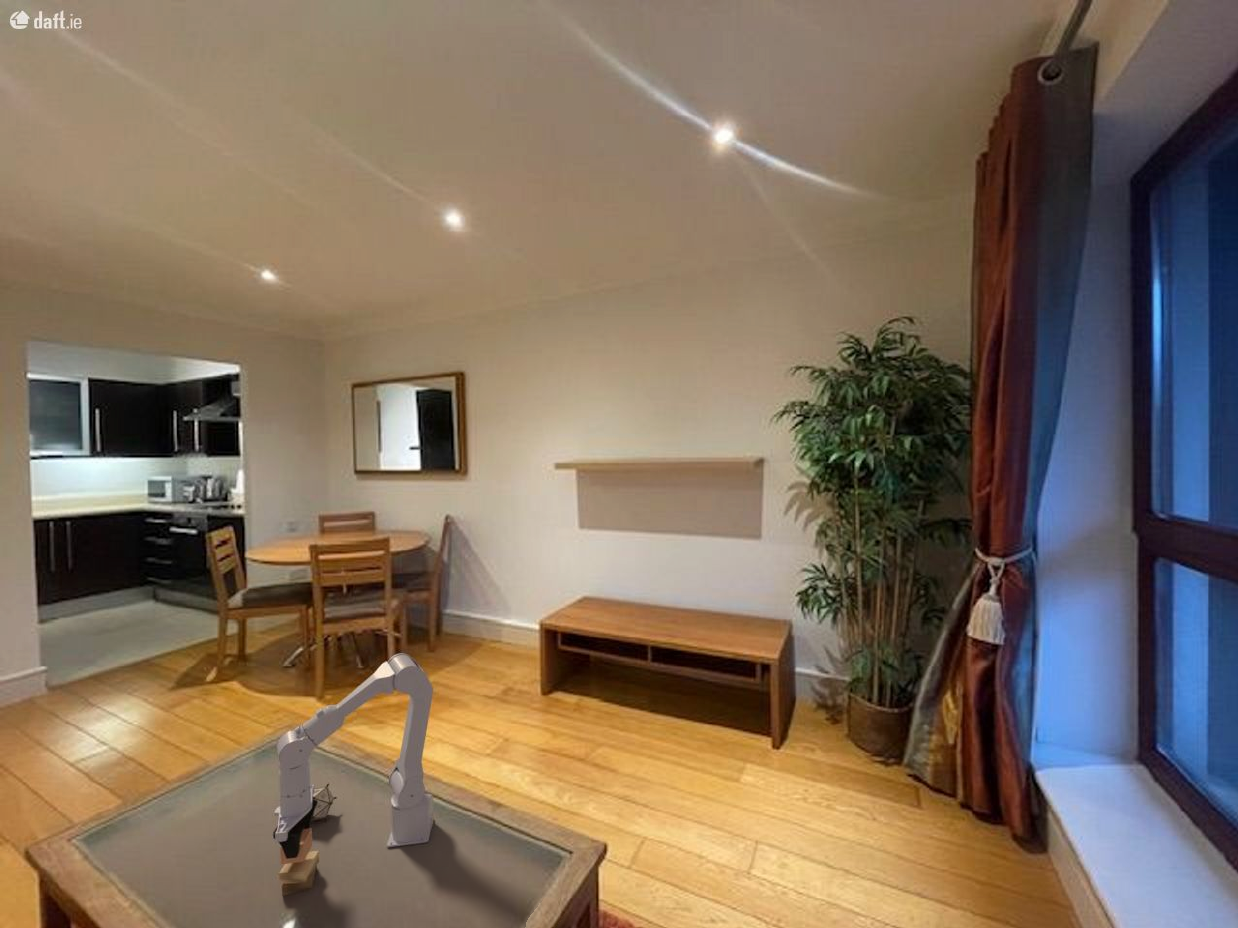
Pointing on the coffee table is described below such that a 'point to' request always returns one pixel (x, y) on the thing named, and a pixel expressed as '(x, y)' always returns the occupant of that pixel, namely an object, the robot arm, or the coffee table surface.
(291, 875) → the oak slab
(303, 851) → the terracotta block
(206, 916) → the coffee table surface
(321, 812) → the game die
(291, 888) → the walnut slab
